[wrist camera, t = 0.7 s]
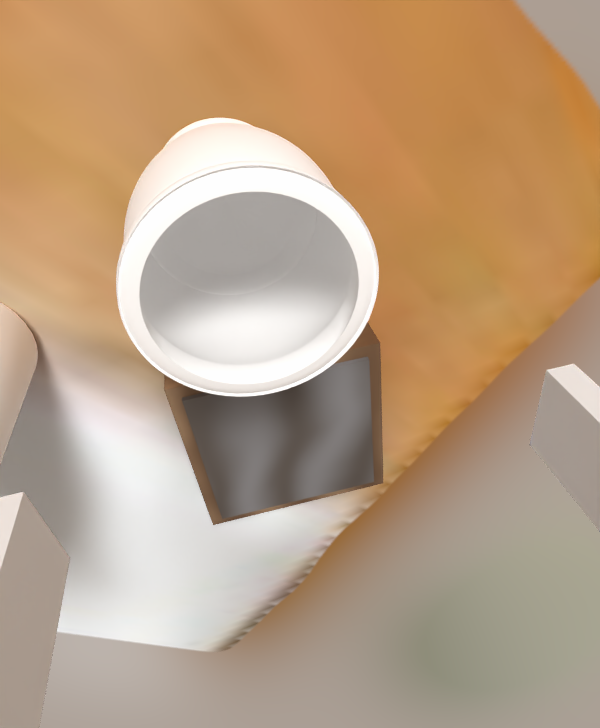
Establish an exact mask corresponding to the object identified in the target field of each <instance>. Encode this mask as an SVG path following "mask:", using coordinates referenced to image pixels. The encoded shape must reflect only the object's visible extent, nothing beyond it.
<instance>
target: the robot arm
mask: <svg viewBox="0 0 600 728" xmlns="http://www.w3.org/2000/svg"><path fill="white" fill-rule="evenodd" d="M530 446H531V447H532V448H533V449H534V451H535V452H536V453H537V454H538V456H539V457H540V458H541V459H542V461H543V462H544V463H545V464H546V466H547V467H548V468H549V469H550V471H551V472H552V473H553V474H554V476H555V477H556V478H557V479H558V481H559V482H560V483H561V484H562V486H563V487H564V488H565V489H566V491H567V492H568V493H569V494H570V496H571V497H572V498H573V499H574V501H575V502H576V503H577V504H578V505H579V507H580V508H581V509H582V510H583V512H584V513H585V514H586V515H587V517H588V518H589V519H590V520H591V522H592V523H593V524H594V525H595V526H596V528H597V529H598V530H599V532H600V387H599V386H598V385H597V384H596V383H594V382H593V381H592V380H591V379H590V378H589V377H588V376H587V375H586V374H585V373H584V372H582V371H581V370H580V369H579V368H578V367H577V366H576V365H575V364H571V365H566V366H562V367H558V368H553V369H549V370H547V371H546V374H545V379H544V383H543V387H542V392H541V396H540V401H539V405H538V410H537V414H536V418H535V423H534V427H533V432H532V436H531V440H530ZM69 560H70V557H69V556H68V554H67V553H66V551H65V550H64V549H63V547H62V546H61V544H60V543H59V541H58V540H57V539H56V537H55V536H54V534H53V533H52V531H51V530H50V529H49V527H48V526H47V524H46V523H45V521H44V520H43V519H42V517H41V516H40V514H39V513H38V511H37V510H36V508H35V507H34V506H33V504H32V503H31V501H30V500H29V498H28V497H27V496H26V494H25V493H24V492H20V493H16V494H11V495H7V496H3V497H0V728H39V727H40V721H41V716H42V710H43V704H44V699H45V694H46V688H47V682H48V677H49V671H50V666H51V660H52V655H53V649H54V644H55V638H56V633H57V627H58V622H59V616H60V610H61V605H62V599H63V594H64V588H65V583H66V577H67V572H68V566H69Z"/></svg>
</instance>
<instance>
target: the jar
mask: <svg viewBox="0 0 600 728" xmlns="http://www.w3.org/2000/svg"><path fill="white" fill-rule="evenodd" d="M378 280H379V268H378V259H377V253H376V249H375V246H374V242H373V240H372V237H371V235H370V232H369V230H368V228H367V226H366V224H365V223H364V221H363V220H362V218H361V217H360V215H359V214H358V212H357V211H356V210H355V209H354V208H353V206H352V205H351V204H350V203H349V202H348V201H347V200H346V199H345V198H344V197H343V196H342V195H341V194H340V193H339V192H337V191H336V190H335V189H334V188H333V186H332V185H331V183H330V182H329V180H328V179H327V177H326V176H325V174H324V173H323V172H322V170H321V169H320V168H319V167H318V166H317V165H316V164H315V162H314V161H313V160H312V159H311V158H310V157H308V156H307V155H306V154H305V153H304V152H303V151H302V150H300V149H299V148H298V147H296V146H295V145H294V144H292V143H291V142H289V141H287V140H286V139H284V138H282V137H280V136H278V135H276V134H274V133H272V132H269V131H266V130H264V129H261V128H257V127H254V126H252V125H250V124H248V123H245V122H243V121H239V120H236V119H230V118H209V119H204V120H200V121H197V122H195V123H192V124H190V125H188V126H186V127H185V128H183V129H181V130H180V131H179V132H177V133H176V134H175V135H174V136H173V137H172V138H171V139H170V140H169V141H168V142H167V144H166V145H165V146H164V148H163V149H162V150H161V151H160V152H159V153H158V154H157V155H156V156H155V157H154V158H153V160H152V161H151V162H150V163H149V165H148V166H147V167H146V169H145V170H144V172H143V173H142V175H141V177H140V178H139V180H138V182H137V184H136V186H135V188H134V191H133V193H132V196H131V199H130V202H129V205H128V209H127V214H126V219H125V227H124V243H123V246H122V249H121V252H120V256H119V260H118V265H117V273H116V292H117V300H118V307H119V311H120V315H121V318H122V321H123V324H124V326H125V329H126V331H127V333H128V335H129V337H130V338H131V340H132V342H133V343H134V345H135V346H136V348H137V349H138V350H139V351H140V353H141V354H142V355H143V356H144V357H145V358H146V359H147V360H148V361H149V362H150V363H151V364H152V365H153V366H154V367H155V368H157V369H158V370H159V371H161V372H162V373H163V374H165V375H166V376H168V377H170V378H171V379H173V380H175V381H177V382H179V383H181V384H183V385H185V386H188V387H190V388H193V389H196V390H199V391H203V392H206V393H211V394H216V395H223V396H257V395H265V394H270V393H275V392H279V391H282V390H285V389H289V388H291V387H294V386H297V385H299V384H301V383H303V382H306V381H308V380H310V379H311V378H313V377H315V376H317V375H318V374H320V373H322V372H323V371H325V370H326V369H327V368H329V367H330V366H331V365H333V364H334V363H335V362H336V361H337V360H338V359H340V358H341V357H342V356H343V355H344V354H345V353H346V352H347V351H348V350H349V348H350V347H351V346H352V345H353V344H354V342H355V341H356V340H357V338H358V337H359V335H360V334H361V332H362V331H363V329H364V327H365V325H366V324H367V322H368V319H369V317H370V315H371V312H372V310H373V307H374V303H375V300H376V295H377V290H378Z"/></svg>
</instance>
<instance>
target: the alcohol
mask: <svg viewBox="0 0 600 728" xmlns="http://www.w3.org/2000/svg"><path fill="white" fill-rule="evenodd" d="M37 359H38V351H37V344H36V341H35V339H34V336H33V334H32V332H31V331H30V329H29V328H28V326H27V325H26V323H25V322H24V321H23V320H22V319H21V318H20V317H19V316H18V315H17V314H16V313H15V312H14V311H13V310H11V309H10V308H8V307H7V306H6V305H4V304H3V303H1V302H0V464H1V462H2V459H3V456H4V453H5V451H6V448H7V445H8V442H9V440H10V437H11V434H12V431H13V429H14V426H15V423H16V420H17V418H18V415H19V412H20V409H21V407H22V404H23V401H24V398H25V396H26V393H27V390H28V387H29V385H30V382H31V379H32V376H33V374H34V371H35V368H36V365H37Z"/></svg>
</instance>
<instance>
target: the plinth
mask: <svg viewBox="0 0 600 728" xmlns="http://www.w3.org/2000/svg"><path fill="white" fill-rule="evenodd" d="M164 390H165V393H166V396H167V399H168V401H169V404H170V407H171V410H172V412H173V415H174V418H175V421H176V423H177V426H178V429H179V432H180V434H181V437H182V440H183V443H184V446H185V448H186V451H187V454H188V457H189V459H190V462H191V465H192V468H193V470H194V473H195V476H196V479H197V481H198V484H199V487H200V490H201V492H202V495H203V498H204V501H205V503H206V506H207V509H208V512H209V514H210V517H211V520H212V523H213V525H215V524H219V523H223V522H227V521H231V520H235V519H239V518H244V517H248V516H252V515H256V514H260V513H264V512H268V511H272V510H276V509H280V508H284V507H288V506H292V505H296V504H300V503H304V502H308V501H312V500H317V499H321V498H325V497H329V496H333V495H337V494H341V493H345V492H349V491H353V490H357V489H361V488H365V487H369V486H373V485H377V484H381V483H383V450H382V404H381V359H380V342H379V340H378V339H377V337H376V335H375V334H374V332H373V330H372V329H371V327H370V325H369V324H368V322H367V324H366V325H365V327H364V329H363V331H362V332H361V334H360V335H359V337H358V338H357V340H356V341H355V342H354V344H353V345H352V346H351V347H350V348H349V350H348V351H347V352H346V353H345V354H344V355H343V356H342V357H341V358H340V359H338V360H337V361H336V362H335V363H334V364H333V365H331V366H330V367H329V368H327V369H326V370H325V371H323V372H322V373H320V374H318V375H317V376H315V377H313V378H311V379H310V380H308V381H306V382H303V383H301V384H299V385H297V386H294V387H291V388H289V389H285V390H282V391H279V392H275V393H270V394H265V395H257V396H223V395H216V394H211V393H206V392H203V391H199V390H196V389H193V388H190V387H188V386H185V385H183V384H181V383H179V382H177V381H175V380H173V379H171V378H170V377H168V376H166V375H165V382H164Z"/></svg>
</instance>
